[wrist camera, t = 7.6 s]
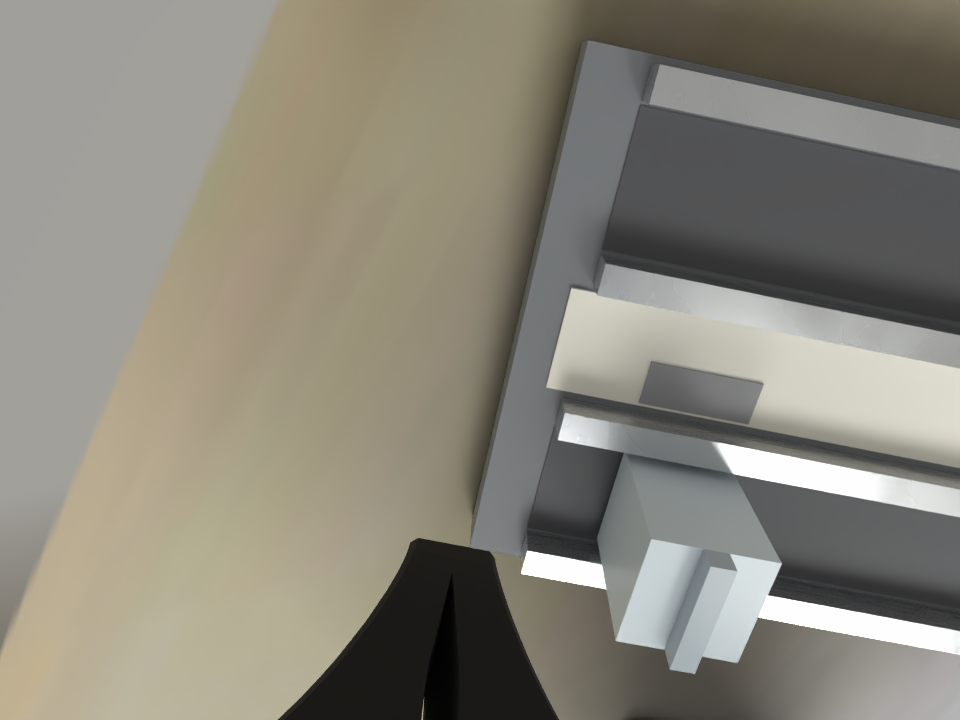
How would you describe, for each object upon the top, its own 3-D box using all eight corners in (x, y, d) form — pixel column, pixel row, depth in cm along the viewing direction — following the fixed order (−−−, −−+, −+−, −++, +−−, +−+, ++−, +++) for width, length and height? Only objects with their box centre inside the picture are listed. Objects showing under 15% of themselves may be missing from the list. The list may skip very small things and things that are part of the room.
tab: (697, 556, 21) (745, 682, 17) (597, 537, 21) (618, 660, 17) (731, 469, 20) (791, 581, 16) (625, 448, 20) (656, 556, 16)
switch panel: (1132, 641, 24) (1198, 704, 21) (472, 517, 23) (467, 569, 21) (1431, 224, 18) (1564, 248, 16) (581, 41, 17) (593, 39, 15)
